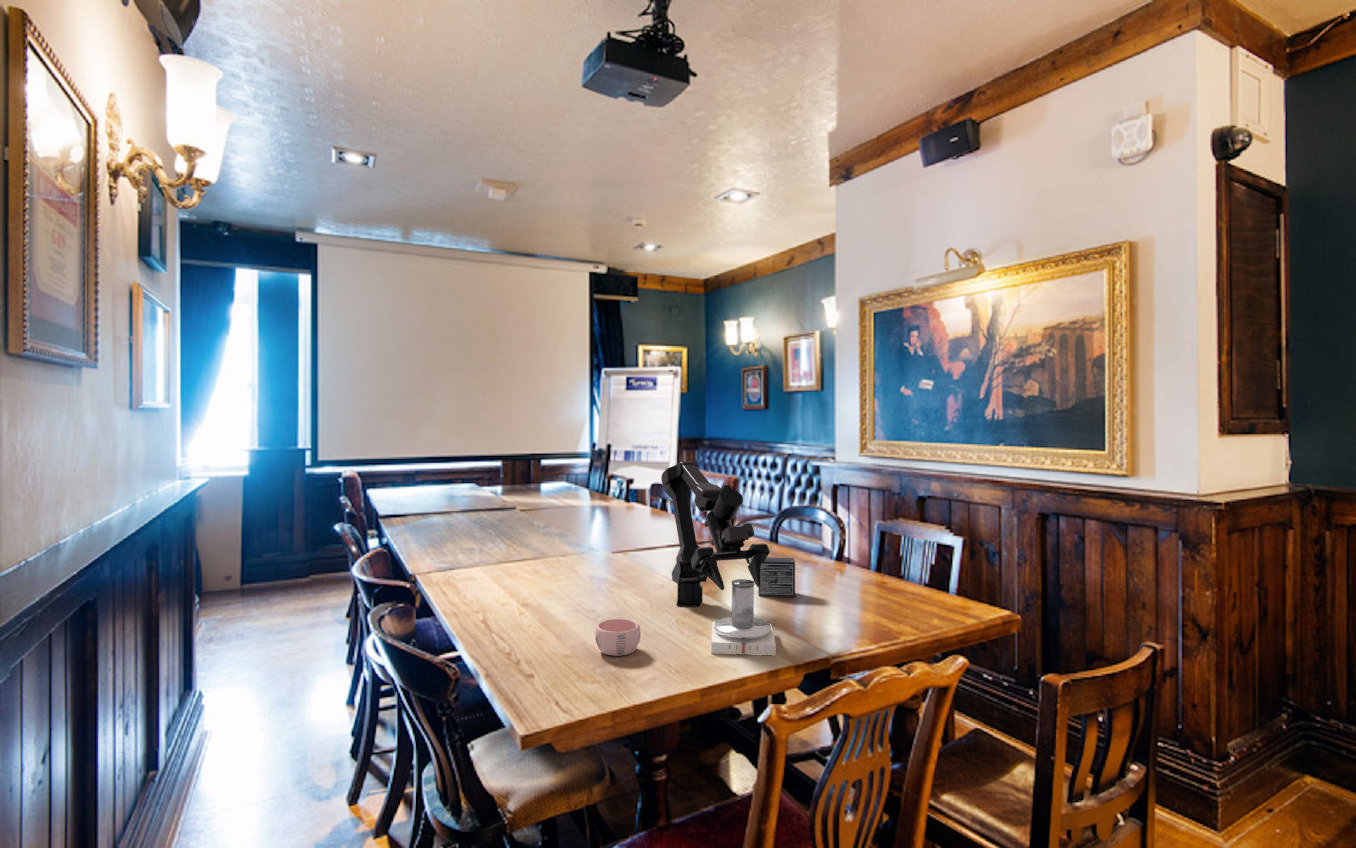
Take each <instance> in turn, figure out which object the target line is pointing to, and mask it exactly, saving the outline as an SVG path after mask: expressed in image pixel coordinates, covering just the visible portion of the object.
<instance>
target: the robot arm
mask: <svg viewBox="0 0 1356 848" xmlns="http://www.w3.org/2000/svg"><path fill="white" fill-rule="evenodd" d="M660 479H661V483H662V485H663V488H664V493H666V495H668V497H669V498H670V499H671V501H672V506H673V511H674V512H673V513H674V519H675V525H676V532H677V537H678V543H679V551H678V554H677V555H676V558H675V560H676V562H675V565H674V567H673V569H672V571H671V578H672V581H673V582H674V583H675V584H677V596H676V597H677V599H676V606H677V607H701V604H702V603H703V597H704V596H703V595H704V594H703V591H704V590H703V589H704V588H703V587H704V586H703V585H701V583H707V580H708V578H709V579H710V580H711V581H712V582H713V583H714V584H715V585H716V586H717V587H718V589H720V590H721V591H724V590H725V584H724V581H723V578H722V577H723V576H722V575H721V572H720V570H719V567H718V562H719V561H735V560H736V561H737V560H745V561H746V564H748V566H747V569H748V571H749V573H750V576H751V578H752V581H754V585H756V587H757V588H758V587H759V586H760V569H761V564H762V563H763V562H764V561H765V559H766V558H767V557H769V555H770V553H771V550H770V548H769V546H768V544H767V543H764V542H763V543H752V544H751V545H750V547H749V548H748V549H746V550H745V549H744V550H742V549H741V548H743V547H744V546H745V541H749V539H750V538H752V537H754V536H755V530H754V529H755V528H754V526H753V525H752V523H751V522H750V523H749V522H748V523H744V524H742V525H739V526H737V525H735V526H733V524H732V522H731V520H733V519H734V518H735V517H736V515H737V513H738V511H739V510H740V507H741V506H742V504H743V501H744V498H743V495H742V494H741V493H740V492H739V491H738V490H737V489H734V488H732V486H731V484H723V485H722V486H719V485H717V484H713V483H711V482H709V480H708V479H707V478H706V476H704V474H703V473H702V472H701V471H700V469H699V468H698V466H697V463H696V462H694V461H680V462H677V463H676V464H675V465H673V466H670V467H667V468H666V469H665V470H664V471H663V472H662V473H661V478H660ZM690 491H692V493H693V494H694V504H695V507H696V508H697V509H698V510H699V512H700V513H701V512H702V513H705V512H707V514H706V517H705V521H704V527H706V528H707V527H708V530H709V533H710V537H711V541H710V544H711V546H714V548H715V551H716V552H715V551H714V548H713V547H711V546H704V547H703V546H702V547H700V545H698V543H697V538H696V532H695V527H694V522H693V515H692V509H691V505H690V497H689V494H690Z"/></svg>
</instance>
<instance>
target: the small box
mask: <svg viewBox="0 0 1356 848" xmlns="http://www.w3.org/2000/svg"><path fill="white" fill-rule="evenodd" d="M757 588H758V597H759V596H765V598H767V597H768V598H789V599H790V598H791V599H792V598H793V599H795V598H796V560H795V559H794V558H793V557H774V556H773V557H770V556H767V558H766V559H765V561H764V562H763V563H762V564H761V569H760V586H759V587H757Z"/></svg>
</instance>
